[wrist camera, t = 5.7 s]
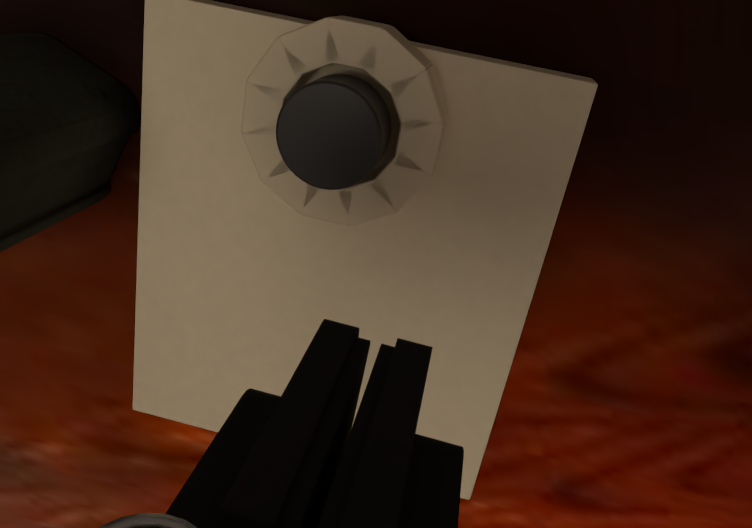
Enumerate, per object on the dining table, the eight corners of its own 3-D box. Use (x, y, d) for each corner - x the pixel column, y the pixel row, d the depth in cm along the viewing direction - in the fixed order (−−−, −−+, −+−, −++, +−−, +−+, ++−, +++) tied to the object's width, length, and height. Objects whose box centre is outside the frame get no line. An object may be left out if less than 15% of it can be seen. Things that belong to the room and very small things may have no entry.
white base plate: (166, -24, 21) (116, -27, 19) (597, 63, 20) (612, 74, 17) (148, 390, 28) (110, 433, 25) (471, 476, 27) (467, 531, 24)
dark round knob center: (300, 64, 19) (281, 70, 17) (400, 85, 19) (390, 93, 17) (287, 163, 20) (268, 177, 19) (381, 184, 20) (371, 201, 18)
